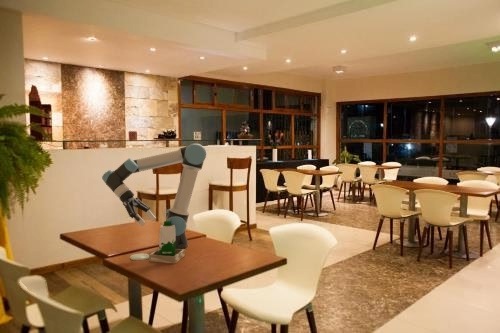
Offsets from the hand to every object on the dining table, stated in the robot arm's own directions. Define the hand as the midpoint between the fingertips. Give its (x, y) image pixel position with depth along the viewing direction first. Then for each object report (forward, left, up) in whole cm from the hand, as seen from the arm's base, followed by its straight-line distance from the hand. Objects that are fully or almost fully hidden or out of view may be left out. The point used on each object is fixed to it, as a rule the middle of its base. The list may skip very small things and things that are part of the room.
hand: (149, 222), depth 212 cm
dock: (0, +11, -20) cm, 22 cm away
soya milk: (0, +11, -20) cm, 22 cm away
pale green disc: (+2, -4, -19) cm, 20 cm away
